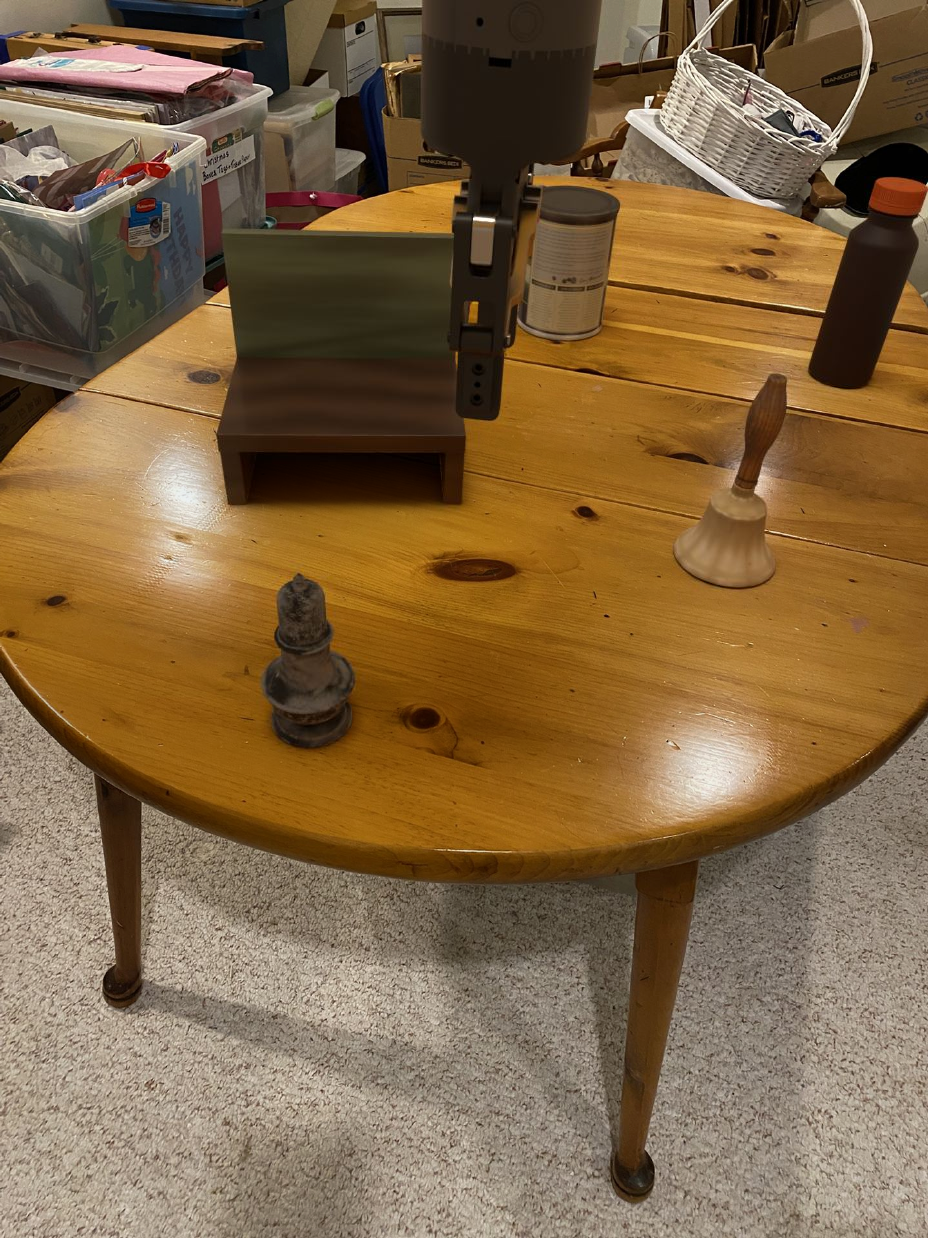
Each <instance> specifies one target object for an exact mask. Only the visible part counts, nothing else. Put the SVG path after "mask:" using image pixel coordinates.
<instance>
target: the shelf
mask: <svg viewBox="0 0 928 1238" xmlns="http://www.w3.org/2000/svg"><path fill="white" fill-rule="evenodd" d="M220 234H221V243H222V248H223V249H222V251H223V259H224V266H225V274H226V275H225V276H226V282H227V283H226V284H227V288H228V289H227V290H228V300H229V305H230V314H231V321H232V329H233V336H234V346H235V354H236V359H235V363H234V366H233V371H232V373H231V377H230V381H229V385H228V388H227V392H226V396H225V400H224V404H223V408H222V411H221V415H220V418H219V423H218V425H217V430H216V434H215V435H216V443H217V449H218V450H217V451H218V452H219V454H220V461H221V468H222V475H223V482H224V487H225V488H224V489H225V495H226V501H227V505H247V504H248V499H249V495H250V494H249V493H250V489H251V484H252V479H253V473H254V468H255V463H256V459H257V453H438V455H439V456H438V457H439V467H440V477H441V479H440V480H441V489H442V490H441V491H442V499H443V500H442V501H443V504H444V505H461V504H463V494H464V493H463V491H464V474H465V473H464V471H465V453H466V447H467V444H466V442H467V434H466V425H465V418H461V417H460V416H458V414H457V413H456V410H455V406H456V383H457V361H456V360H457V359H456V358H457V352H454V351H450V350H449V343H447V334H448V331H450V314H451V291H452V290H451V286H450V275H451V266H452V257H453V246H454V233H452V232H416V231H415V232H413V231H412V232H411V231H408V232H405V231H404V232H403V231H368V230H367V231H366V230H325V229H324V230H322V229H321V230H320V229H319V230H317V229H279V228H277V229H276V228H275V229H274V228H272V229H271V228H230V227H229V228H228V227H227V228H225V227H223V228H222V230H221V232H220Z"/></svg>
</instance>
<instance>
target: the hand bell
mask: <svg viewBox="0 0 928 1238" xmlns="http://www.w3.org/2000/svg"><path fill="white" fill-rule="evenodd" d="M787 383H788V377H787V376H786V375H784V374H782V373H778V372H775V373H771V374H769V375H768V377H767V379H766V381H765V382H764V384H763V386H762V387H761V388H760V390H759V391H758V392H757V394H756V395H755V397H754V398H753V400H752V402H751V405H750V407H749V409H748V413H747V416H746V419H745V427H744V451H743V456H742V458H741V460H740V464H739V467H738V469H737V474H736V475H735V477H734V480H733V482H732V485H731V487H725V488H722V489H719V490H717V491H715V492H713V494H712V495H711V497H710V498H709V501H708V504H707V506H706V508H705V510H704V512H703V514H702V516H701V518H700V519H699V521H698V522H697V523H696V524H695V525H692V526H690V527H689V528H687V529H685V530H683V531H682V532H681V533H680V534H679V535H678V536H677V537H676V539H675V541H674V543H673V547H672V548H673V549H672V550H673V555H674V557H675V559H676V560H677V562H678V563H679V564H680V565H681V567H682V568H683V569H684V570H685V571H686V572H688V573H690V574H691V575H692V576H694V577H696V578H697V579H699V580H702V581H705V582H708V583H711V584H714V585H715V586H716V585H717V586H721V587H728V588H749V587H754V586H758V585H760V584H763V583H765V582H766V581H768V580H769V579H770V578H772V576H773V575H774V573H775V571H776V568H777V562H776V557H775V554H774V552H773V550H772V548H771V547H770V545H769V544H768V543H767V540H766V523H767V522H766V521H767V514H768V505H767V503H766V501H765V500H764V499H763V498H762V497H761V496H759V494H757V493H755V490H756V487H757V486H758V482H759V478H760V475H761V470H762V466H763V462H764V460H765V457H766V455H767V453H768V452H769V450H770V449H771V448H772V446H773V444H774V443H775V442H776V440H777V438H778V436H779V434H780V432H781V431H782V427H783V424H784V421H785V418H786V415H787V408H788V395H787V393H788V391H787Z"/></svg>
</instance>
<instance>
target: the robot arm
mask: <svg viewBox="0 0 928 1238" xmlns="http://www.w3.org/2000/svg"><path fill="white" fill-rule="evenodd" d="M602 4H603V0H421V59H420V60H421V62H420V63H421V66H420V67H421V68H420V71H421V72H420V74H421V75H420V135H421V137H422V139H423V142H424V143H425V144H426V146H428V147H429V148H430V149H431V150H433V151H434V152H436V153H438V154H440V155H442V156H444V157H447V158H458V159H460V160H461V161H462V162H463V163H465V164H466V165H468V166H469V170H470V171H469V177H468V178H469V179H465V178H462V179H461V180H460V181H461V182H460V189H459V194H454V197H453V200H452V201H453V202H452V211H451V219H450V223H451V233H454V246H453V257H452V266H451V275H450V286H451V290H452V291H451V314H450V331H448V334H447V343H449V350H450V351H454V352H456V353H457V359H456V360H457V361H456V367H457V383H456V406H455V410H456V413H457V414H458V416H460V417H461V418H464V420H465V419H467V420H474V421H475V420H477V421H485V422H493V421H495V420H496V419H498V417H499V415H500V411H501V405H502V394H503V393H502V392H503V382H504V381H503V379H504V368H505V367H504V366H505V355H506V352H507V349H509V348H512V347H513V346H514V344H515V342H516V336H517V326H518V322H517V316H518V308H519V303H520V302H521V300H522V298H523V293H524V284H525V276H526V267H527V259H528V257H530V256H531V255H532V253H533V245H534V240H535V236H536V228H537V223H538V222H539V217H540V209H541V202H542V188H543V186H544V185H543V186H535V185H536V184H534V175H535V174H534V173H535V165H536V164H539V165H541V166H548V165H554V164H558V163H562V162H565V161H567V160H569V159H572V158H574V157H575V156H576V155H578V154H579V153H580V152H581V150H582V149H583V148H584V145H585V143H586V141H587V140H586V139H587V132H588V123H589V114H590V107H591V98H592V90H593V81H594V73H595V64H596V57H597V55H596V54H597V49H598V48H597V47H598V39H599V31H600V22H601V15H602V14H601V13H602ZM472 303H477V315H476V322H470V320H469V319H470V311H471V305H472Z"/></svg>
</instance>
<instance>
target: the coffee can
mask: <svg viewBox="0 0 928 1238" xmlns="http://www.w3.org/2000/svg"><path fill="white" fill-rule="evenodd" d="M620 209H621V202H620V200H619V199H618V198H617V197H616V196H614V195H613V194H611V193H609V192H606V191H603V190H599V189H596V188H593V187H588V186H587V187H586V186H580V185H566V184H565V185H548V186H547V187H543V188H542V202H541V209H540V217H539V222H538V223H537V228H536V236H535V240H534V245H533V253H532V255H531V256H530V257H528V259H527V267H526V276H525V284H524V293H523V298H522V300H521V302H520V303H518V314H517V326H519V327H520V328H521V329H522V330H523V331H524V332H526V333H528V334H531V335H532V336H535V337H538V338H542V339H546V340H551V341H562V342H563V341H564V342H571V341H572V342H573V341H580V340H585V339H589V338H592V337H594V336H596V335H597V334H598V333H600V332H601V330H602V328H603V317H604V310H605V304H606V296H607V289H608V283H609V282H608V281H609V277H610V276H609V275H610V270H611V269H610V268H611V261H612V255H613V247H614V241H615V234H616V227H617V220H618V214H619V212H620Z"/></svg>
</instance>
